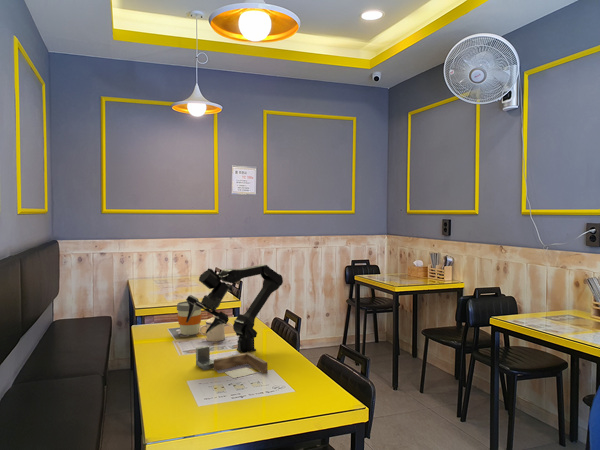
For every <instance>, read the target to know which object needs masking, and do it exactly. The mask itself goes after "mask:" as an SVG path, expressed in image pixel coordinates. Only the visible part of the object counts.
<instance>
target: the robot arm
mask: <svg viewBox="0 0 600 450" xmlns="http://www.w3.org/2000/svg"><path fill="white" fill-rule="evenodd" d="M255 276H261V278H262V279H263V281H262V287H261V289H260V290H259V292H258V293H257V295H256V296H255V298H254V300H253V301H252V302H251V304H250V305H249V307H248V308H247V310H246V311H245V313H242V314H241V313H239V314H237V317H236V319H234V320H233V325H232V327H233V331H234V333H235V335H236V336H237V338H238V340H237V348H236V350H237V351H239V352H241V354H243V353H250V352H255V351H257V348H255V338H256V337H257V335H258V331H257V330H255V328H254V327H255V321H256V320H255V319H256V317H257V316H258V315H259V314H260V312H261V310H262V308H263V307H264V306H265V304H266V302H267V301H268V299H269V298H270V296H271V295H272V293H274V292H276V291H277V290H278V289H279V288H280V287H281V286H282V285H283V284H284V279H283V276H282V275H281V274H280V273H278V272H276V271H275V270H273V269H272V268H271V267H270V266H268V265H267V264H263V263H262V264H258V265H254V266H253V265H252V266H249V267H243V268H223V269H222V270H221V272H218V273H216V272H215V271H214V270H213V269H212V268H210V267H209V268H207V270H205V271H203V272H202V273H201V274H200V275H199V278H198V281H199V282H200V283H202V285H203V286H204V287H206V288H207V289H209V290H211V291H210V292H209V293H208V294H206V295H204V296H203V298H202V300H201V301H199V298H197V297H196V296H194V295H192V294H189V295H188V296H187V298H186V299H185V300H186V301H187V303H188V305H189V313H188V316H187V320H186V322H188V321H189V320H190V318H191V316H192V315H193V313H194V311H195V310H196V308H195V307H196V306H198V307H200V308H202V309H201V310H203V311H205V312H207V313H208V314H210V315H212V316H213V315H214V316H216V317H217V318H216V317H215V319H214V321H213V322H212V324H211V325H210V326H209V328H208V329H207V331H205V333H204V334H207V333H208V332H209V331H210V330H212V329H213V328H214V327H216V326H218V325H219V324H221V325H222V324H223V323H224V325H227V324H228V322H229V315H228V314H226V313H224V312H222V311H219V312H218V311H217V309H218V308H219V306H220V305H221V303H222V302H223V299H224V297H225V296H226V294H227V293H228V292H229V293H233V286H232V285H231V284H235V283H237V282H240V281H242V279H245V278H250V277H255ZM200 302H201V303H200Z"/></svg>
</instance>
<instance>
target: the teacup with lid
mask: <svg viewBox="0 0 600 450" xmlns="http://www.w3.org/2000/svg"><path fill="white" fill-rule="evenodd" d="M215 317H216V316H214V315H212V317H210V318H208V319H207V320H206V321H205V324H203V325H201V326H199V333H200V334H201V335H202V336H205V337H206V341H207V342H211V343H212V342H214V343H215V342H220V341H224V340H225V338H226V337H225V336H226V335H225V334H226V333H225V324H224V323H223V324H222V325H221V324H219V325H218V326H216V327H214V328H213V329H212V330H210V331H209V332H208V333H207V334H206V333H203V332H202V329H203V328H205V329H206V331H207V329H208V328H209V326H210V325H211V324H212V322H213V321H214V319H215ZM216 318H217V317H216ZM206 331H205V332H206Z"/></svg>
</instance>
